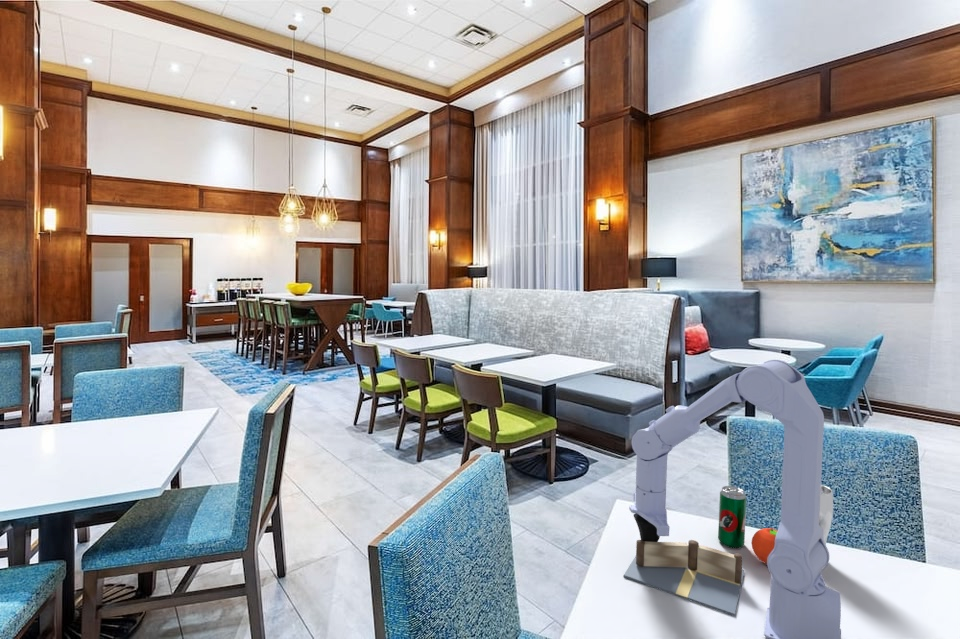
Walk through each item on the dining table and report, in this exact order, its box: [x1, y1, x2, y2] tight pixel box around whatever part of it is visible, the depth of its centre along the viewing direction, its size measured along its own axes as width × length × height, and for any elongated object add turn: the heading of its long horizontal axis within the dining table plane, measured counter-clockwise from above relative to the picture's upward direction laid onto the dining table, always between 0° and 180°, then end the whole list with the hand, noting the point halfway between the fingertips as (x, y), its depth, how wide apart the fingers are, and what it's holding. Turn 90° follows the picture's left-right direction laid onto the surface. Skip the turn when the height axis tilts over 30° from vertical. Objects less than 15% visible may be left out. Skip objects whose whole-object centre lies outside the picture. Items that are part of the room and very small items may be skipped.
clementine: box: [751, 527, 778, 565], centre depth 95 cm, size 8×7×7 cm
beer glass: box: [819, 483, 834, 546], centre depth 97 cm, size 7×7×15 cm
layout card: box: [623, 555, 745, 617], centre depth 92 cm, size 19×15×1 cm
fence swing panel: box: [635, 539, 688, 567], centre depth 94 cm, size 10×2×5 cm, turn 87°
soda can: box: [717, 485, 747, 549], centre depth 103 cm, size 5×5×12 cm
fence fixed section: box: [687, 539, 744, 585], centre depth 91 cm, size 9×2×5 cm, turn 55°
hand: (648, 551), depth 96 cm, fingers closed
